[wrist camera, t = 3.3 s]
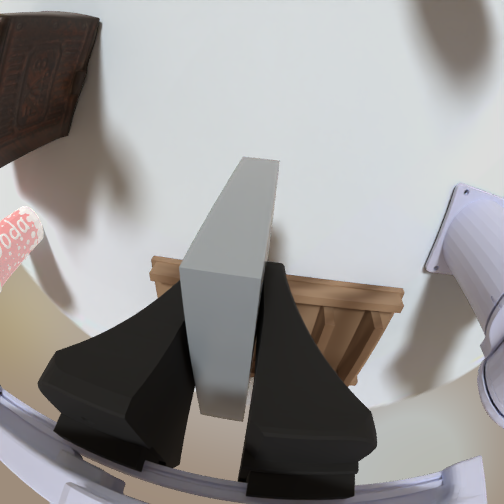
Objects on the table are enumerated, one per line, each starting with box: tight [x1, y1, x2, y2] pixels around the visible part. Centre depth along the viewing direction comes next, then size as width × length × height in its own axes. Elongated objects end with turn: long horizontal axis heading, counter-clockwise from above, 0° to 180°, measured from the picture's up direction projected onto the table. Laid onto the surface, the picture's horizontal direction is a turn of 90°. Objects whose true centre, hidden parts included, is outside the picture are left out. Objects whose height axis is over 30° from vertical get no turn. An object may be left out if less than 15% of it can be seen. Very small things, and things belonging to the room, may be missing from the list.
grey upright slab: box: [179, 157, 280, 422], centre depth 11 cm, size 2×7×8 cm, turn 176°
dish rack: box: [149, 256, 404, 387], centre depth 26 cm, size 22×13×4 cm, turn 86°
